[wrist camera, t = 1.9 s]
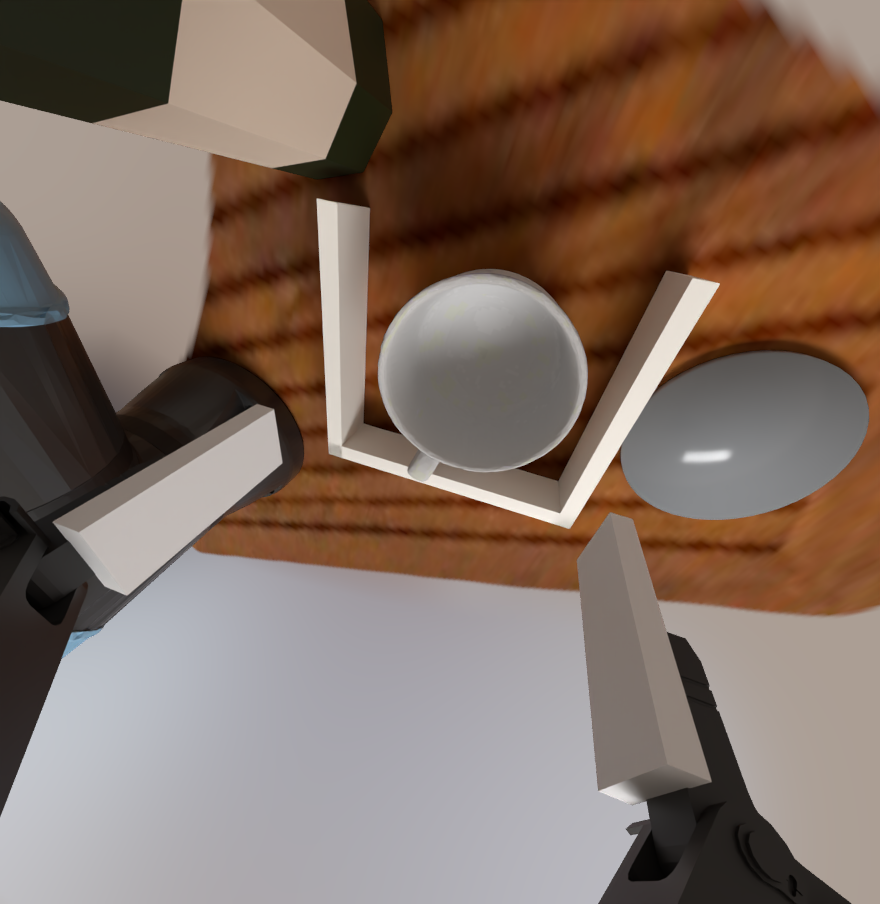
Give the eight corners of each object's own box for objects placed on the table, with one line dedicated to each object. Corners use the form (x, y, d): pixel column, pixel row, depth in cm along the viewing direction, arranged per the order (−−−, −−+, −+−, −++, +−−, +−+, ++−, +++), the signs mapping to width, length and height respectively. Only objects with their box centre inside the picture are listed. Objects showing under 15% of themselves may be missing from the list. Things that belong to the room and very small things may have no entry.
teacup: (492, 218, 19) (465, 209, 13) (611, 346, 21) (641, 395, 15) (374, 379, 27) (321, 424, 20) (469, 461, 29) (448, 526, 22)
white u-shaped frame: (351, 430, 30) (328, 453, 27) (352, 204, 20) (316, 198, 17) (566, 495, 28) (569, 528, 25) (688, 275, 18) (720, 283, 15)
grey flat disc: (590, 485, 27) (591, 490, 26) (685, 326, 19) (689, 328, 19) (756, 534, 25) (760, 540, 25) (930, 382, 18) (941, 386, 17)
